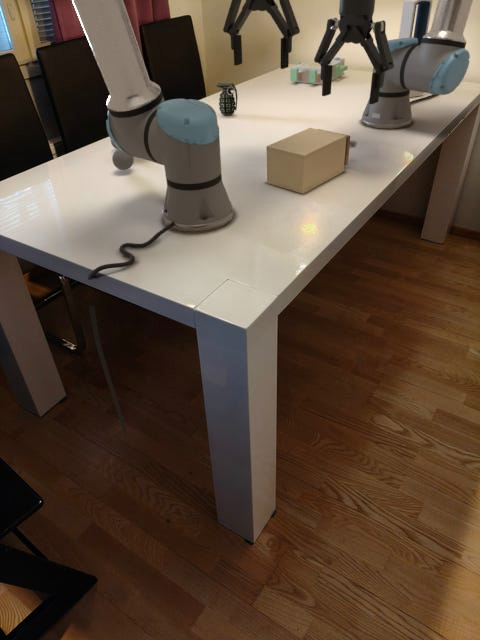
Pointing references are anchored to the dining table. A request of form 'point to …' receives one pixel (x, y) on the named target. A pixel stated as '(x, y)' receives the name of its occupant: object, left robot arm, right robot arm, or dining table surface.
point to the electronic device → (420, 26)
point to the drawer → (347, 147)
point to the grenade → (227, 99)
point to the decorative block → (315, 71)
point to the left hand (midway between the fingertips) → (260, 66)
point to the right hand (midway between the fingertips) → (349, 99)
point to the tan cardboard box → (305, 159)
